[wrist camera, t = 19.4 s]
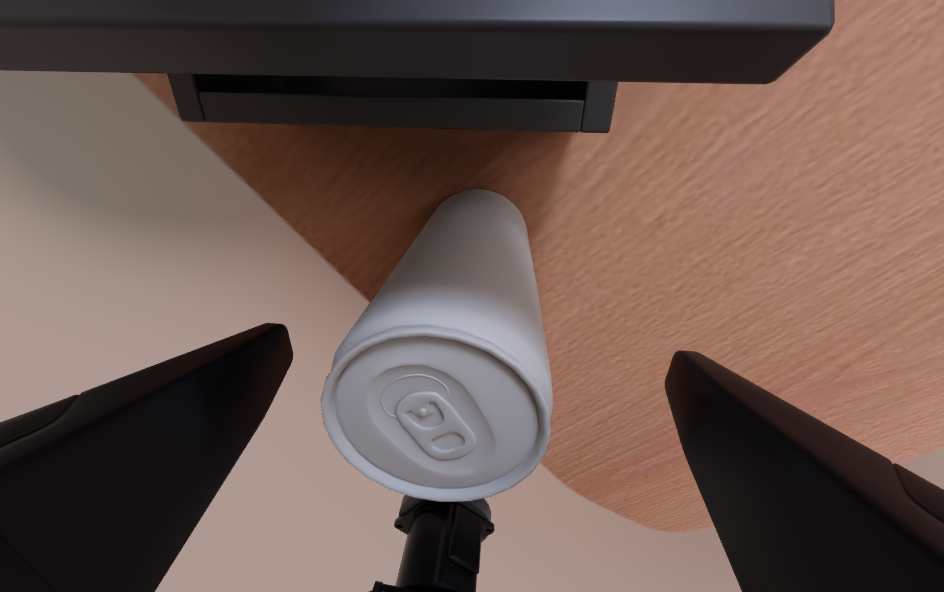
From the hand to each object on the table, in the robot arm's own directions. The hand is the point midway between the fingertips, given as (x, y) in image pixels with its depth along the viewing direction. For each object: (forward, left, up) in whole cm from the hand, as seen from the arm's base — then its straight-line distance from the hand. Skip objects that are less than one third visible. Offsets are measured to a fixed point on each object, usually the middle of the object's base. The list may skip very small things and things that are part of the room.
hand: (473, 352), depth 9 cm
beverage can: (-1, 0, -10) cm, 10 cm away
